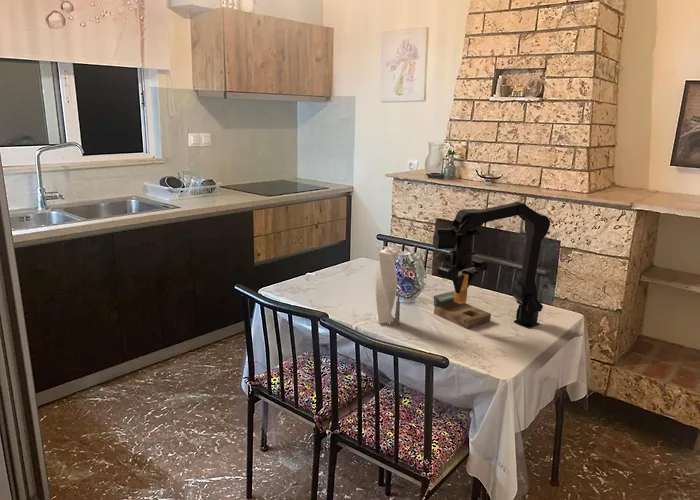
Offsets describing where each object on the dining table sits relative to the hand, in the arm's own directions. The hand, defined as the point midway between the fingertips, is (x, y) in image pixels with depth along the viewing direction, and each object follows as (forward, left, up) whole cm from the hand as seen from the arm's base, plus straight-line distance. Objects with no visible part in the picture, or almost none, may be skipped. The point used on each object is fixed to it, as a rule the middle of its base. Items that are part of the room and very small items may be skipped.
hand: (460, 292), depth 178 cm
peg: (0, 0, -4) cm, 4 cm away
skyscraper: (+17, +19, -13) cm, 28 cm away
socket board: (+5, -7, -13) cm, 15 cm away
